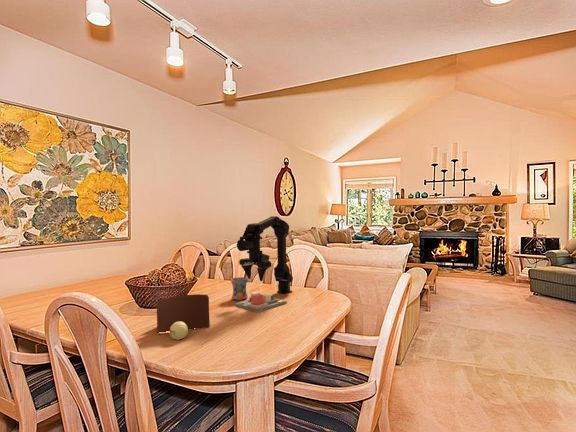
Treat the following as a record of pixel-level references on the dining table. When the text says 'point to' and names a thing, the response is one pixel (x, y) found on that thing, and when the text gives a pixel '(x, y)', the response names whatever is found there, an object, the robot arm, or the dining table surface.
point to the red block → (257, 299)
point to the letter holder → (183, 312)
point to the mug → (239, 288)
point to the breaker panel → (261, 307)
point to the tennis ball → (178, 330)
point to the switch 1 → (255, 293)
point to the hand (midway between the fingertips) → (255, 280)
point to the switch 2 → (266, 298)
